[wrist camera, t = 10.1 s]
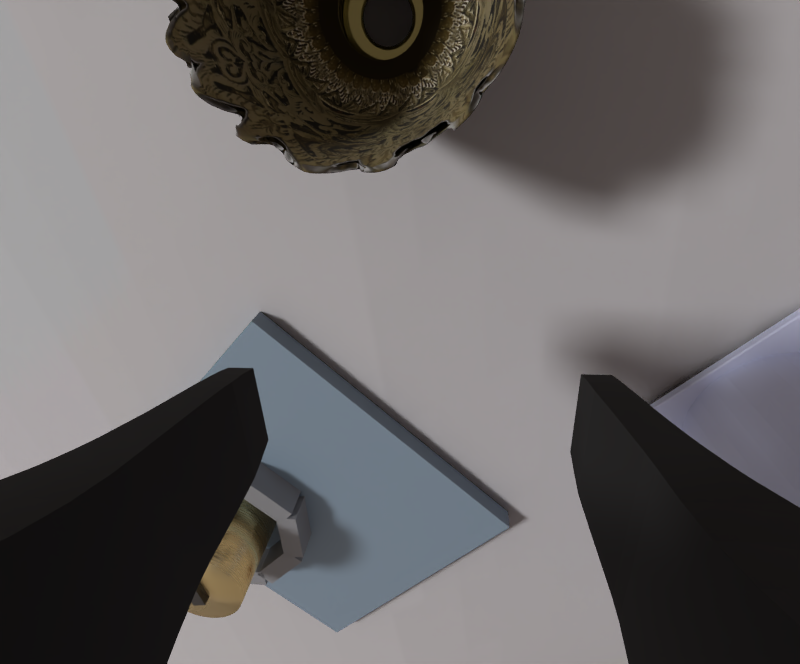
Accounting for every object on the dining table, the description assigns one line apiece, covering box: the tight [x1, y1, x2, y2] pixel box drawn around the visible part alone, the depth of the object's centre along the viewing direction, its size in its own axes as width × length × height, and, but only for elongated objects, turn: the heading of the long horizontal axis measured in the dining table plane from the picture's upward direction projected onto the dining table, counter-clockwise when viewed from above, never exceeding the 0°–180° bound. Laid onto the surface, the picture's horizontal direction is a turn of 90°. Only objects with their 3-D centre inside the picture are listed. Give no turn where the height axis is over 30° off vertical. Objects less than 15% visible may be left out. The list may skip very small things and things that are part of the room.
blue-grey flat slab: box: [201, 312, 509, 632], centre depth 25 cm, size 16×14×2 cm
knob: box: [188, 499, 277, 618], centre depth 24 cm, size 4×4×5 cm
